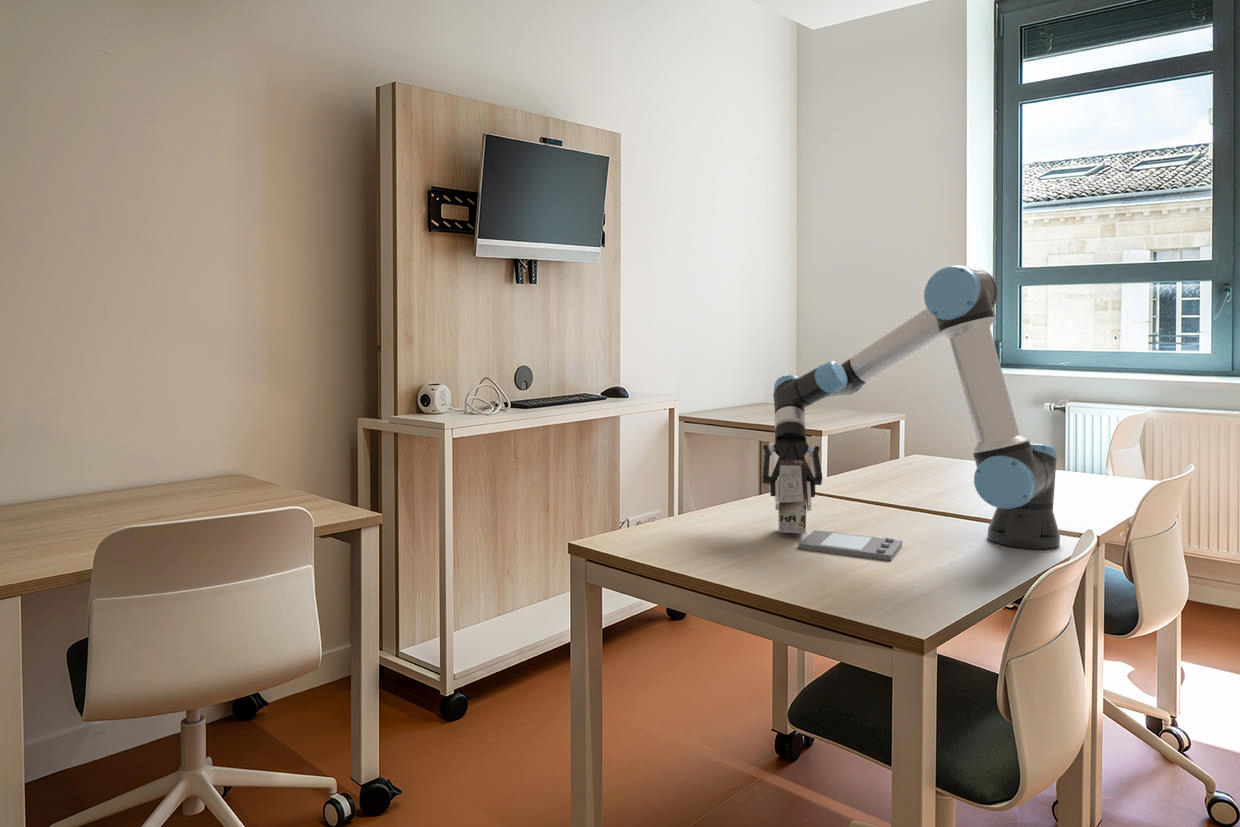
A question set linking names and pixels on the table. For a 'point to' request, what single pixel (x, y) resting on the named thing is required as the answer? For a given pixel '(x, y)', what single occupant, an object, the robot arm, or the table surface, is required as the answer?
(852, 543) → the control panel
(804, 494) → the coffee box
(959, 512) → the table surface
